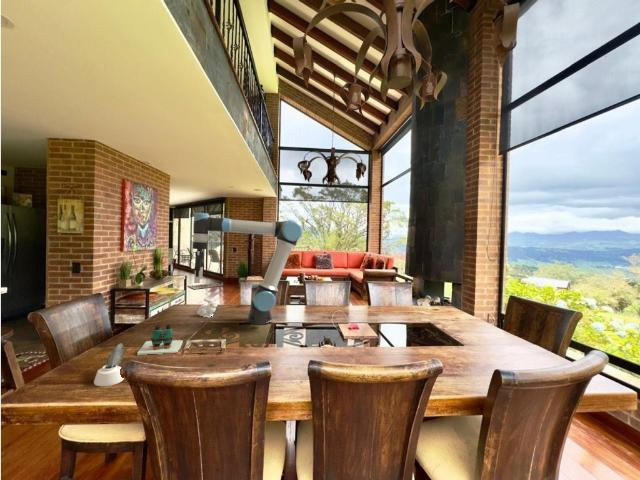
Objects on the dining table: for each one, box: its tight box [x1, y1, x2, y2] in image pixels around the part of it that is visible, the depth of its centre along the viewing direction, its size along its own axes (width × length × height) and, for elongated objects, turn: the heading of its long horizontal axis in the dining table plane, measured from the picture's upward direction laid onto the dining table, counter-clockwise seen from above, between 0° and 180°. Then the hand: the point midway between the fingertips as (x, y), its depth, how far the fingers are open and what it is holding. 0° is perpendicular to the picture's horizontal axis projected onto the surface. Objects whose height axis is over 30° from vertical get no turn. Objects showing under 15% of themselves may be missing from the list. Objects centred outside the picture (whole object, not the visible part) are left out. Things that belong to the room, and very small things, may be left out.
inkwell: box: [93, 343, 125, 387], centre depth 121 cm, size 9×18×10 cm, turn 17°
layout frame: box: [183, 338, 227, 350], centre depth 155 cm, size 18×17×1 cm
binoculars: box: [150, 323, 173, 350], centre depth 150 cm, size 9×11×10 cm
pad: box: [136, 339, 184, 356], centre depth 150 cm, size 16×15×1 cm
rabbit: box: [197, 297, 218, 318], centre depth 207 cm, size 12×9×12 cm
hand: (198, 280), depth 179 cm, fingers open, 13 cm apart
